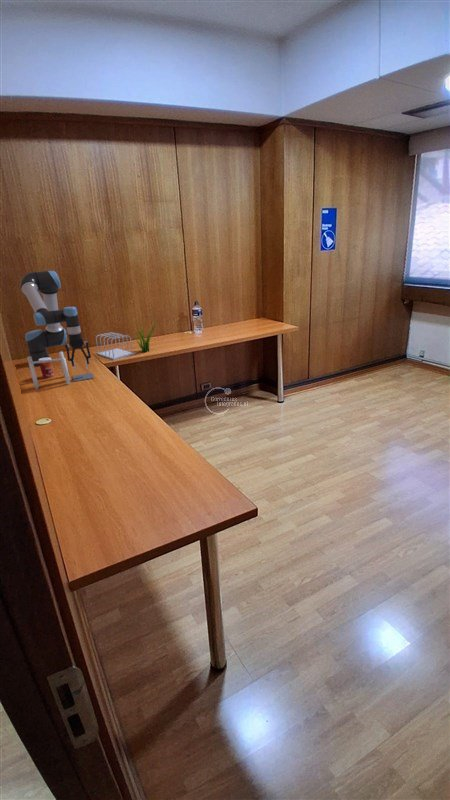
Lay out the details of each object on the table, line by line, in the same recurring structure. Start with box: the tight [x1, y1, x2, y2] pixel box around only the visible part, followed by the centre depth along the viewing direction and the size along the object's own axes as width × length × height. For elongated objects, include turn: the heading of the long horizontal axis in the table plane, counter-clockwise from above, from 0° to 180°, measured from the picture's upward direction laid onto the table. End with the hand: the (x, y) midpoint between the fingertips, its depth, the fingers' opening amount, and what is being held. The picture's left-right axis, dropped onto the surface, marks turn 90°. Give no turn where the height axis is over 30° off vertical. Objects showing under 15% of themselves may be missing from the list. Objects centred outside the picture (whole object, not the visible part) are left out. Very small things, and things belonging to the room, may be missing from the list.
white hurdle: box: [26, 351, 72, 390], centre depth 239 cm, size 20×21×16 cm
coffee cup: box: [39, 356, 55, 379], centre depth 253 cm, size 8×8×15 cm
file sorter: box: [95, 331, 135, 361], centre depth 295 cm, size 25×17×16 cm
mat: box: [72, 372, 95, 383], centre depth 248 cm, size 12×12×1 cm
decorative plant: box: [133, 309, 157, 353], centre depth 299 cm, size 18×30×15 cm
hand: (81, 370), depth 246 cm, fingers open, 6 cm apart
